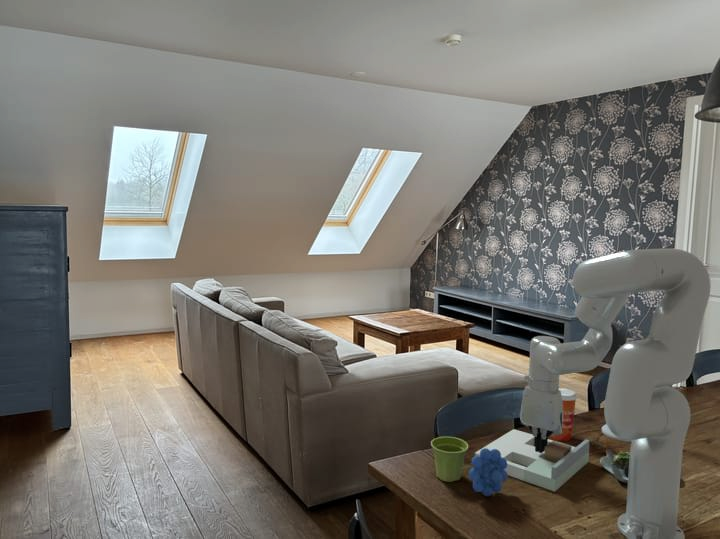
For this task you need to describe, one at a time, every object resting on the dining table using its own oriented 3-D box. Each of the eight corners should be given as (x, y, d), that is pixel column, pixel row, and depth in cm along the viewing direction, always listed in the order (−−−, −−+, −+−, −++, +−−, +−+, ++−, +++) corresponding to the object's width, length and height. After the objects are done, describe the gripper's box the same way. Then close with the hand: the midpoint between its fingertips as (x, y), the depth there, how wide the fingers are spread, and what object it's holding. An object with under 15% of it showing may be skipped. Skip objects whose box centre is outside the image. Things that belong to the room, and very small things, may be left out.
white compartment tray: (554, 491, 135) (555, 467, 134) (474, 463, 150) (475, 441, 149) (588, 461, 151) (589, 440, 151) (513, 438, 166) (514, 419, 165)
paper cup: (548, 441, 165) (550, 394, 163) (546, 431, 172) (548, 386, 170) (577, 443, 163) (579, 397, 161) (573, 433, 170) (575, 388, 169)
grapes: (481, 510, 126) (483, 460, 125) (462, 497, 132) (463, 448, 131) (519, 497, 132) (521, 449, 131) (498, 485, 138) (500, 438, 137)
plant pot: (468, 470, 146) (469, 438, 145) (465, 488, 137) (466, 454, 136) (433, 466, 148) (433, 434, 147) (427, 482, 139) (428, 449, 138)
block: (563, 465, 142) (563, 452, 142) (544, 459, 146) (544, 446, 145) (570, 459, 146) (571, 446, 146) (552, 453, 149) (552, 440, 149)
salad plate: (580, 457, 154) (581, 441, 154) (638, 453, 158) (639, 437, 157) (625, 492, 135) (626, 474, 135) (690, 486, 139) (691, 469, 138)
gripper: (510, 380, 149) (507, 447, 151) (566, 393, 139) (562, 464, 141) (523, 374, 154) (520, 438, 156) (577, 386, 144) (573, 454, 146)
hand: (540, 450), depth 149 cm, fingers closed
